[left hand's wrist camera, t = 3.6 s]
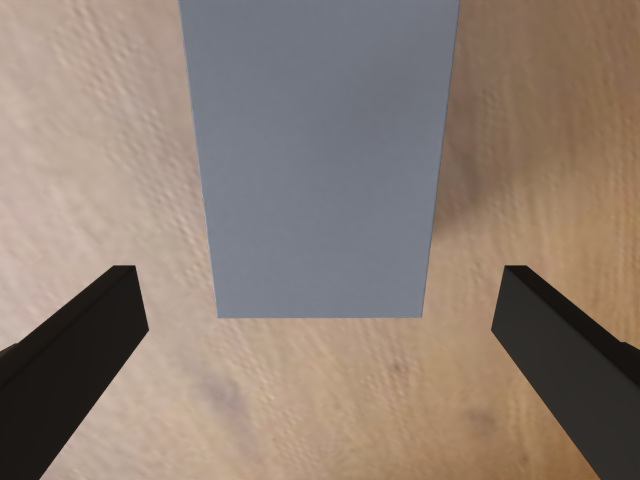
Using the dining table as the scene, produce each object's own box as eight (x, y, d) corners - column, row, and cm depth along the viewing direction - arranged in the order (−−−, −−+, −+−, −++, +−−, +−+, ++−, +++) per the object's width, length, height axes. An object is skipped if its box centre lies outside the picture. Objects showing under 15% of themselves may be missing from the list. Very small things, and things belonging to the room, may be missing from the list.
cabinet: (221, -54, 20) (158, -155, 12) (417, -54, 20) (479, -154, 12) (246, 255, 27) (216, 319, 19) (392, 255, 27) (422, 318, 19)
